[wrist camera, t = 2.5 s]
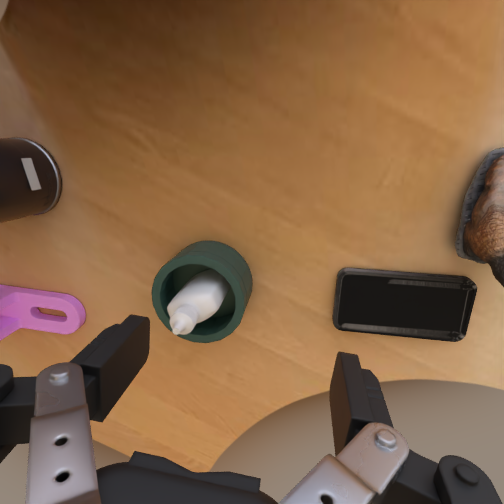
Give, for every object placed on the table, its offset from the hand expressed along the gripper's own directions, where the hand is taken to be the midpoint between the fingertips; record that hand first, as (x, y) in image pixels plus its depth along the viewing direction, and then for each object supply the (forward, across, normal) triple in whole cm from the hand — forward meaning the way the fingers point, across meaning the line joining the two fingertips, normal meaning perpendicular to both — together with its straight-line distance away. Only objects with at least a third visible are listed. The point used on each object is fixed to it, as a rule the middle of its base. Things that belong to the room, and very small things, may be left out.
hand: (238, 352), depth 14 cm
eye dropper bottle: (+27, +8, +9) cm, 29 cm away
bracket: (+27, +32, +18) cm, 45 cm away
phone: (+27, -15, +8) cm, 32 cm away
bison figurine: (+27, -22, -4) cm, 35 cm away
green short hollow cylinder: (+27, +8, +9) cm, 29 cm away
